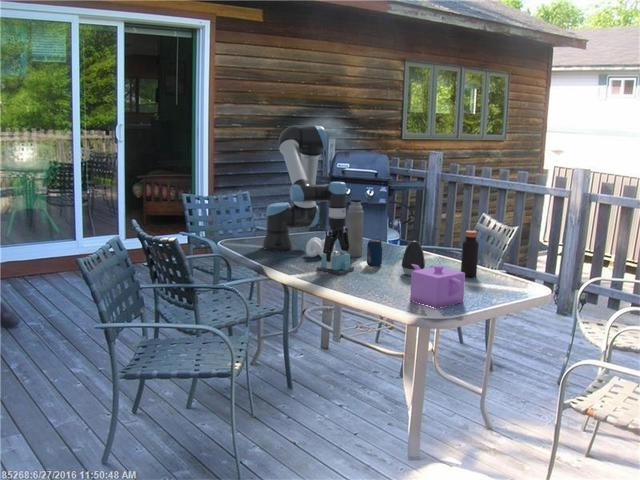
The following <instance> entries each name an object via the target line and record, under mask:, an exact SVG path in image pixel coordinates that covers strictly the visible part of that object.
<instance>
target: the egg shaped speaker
mask: <svg viewBox="0 0 640 480" xmlns="http://www.w3.org/2000/svg"><path fill="white" fill-rule="evenodd" d="M411 264H415V265H418V266H419V267H420V269H426V268H425V267H426V259H425V254H424V250H423V247H422V245H421V243H420V242H419V241H418V240H411V241H410V242H409V243H408V244H407V245H406V247H405V250H404V253H403V256H402V260H401V267H402V271H403V273H404V274H405V275H407V276H410V277H411V274H412V271H415V268H414V267H413V266H412V265H411Z"/></svg>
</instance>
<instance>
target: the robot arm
mask: <svg viewBox="0 0 640 480" xmlns="http://www.w3.org/2000/svg"><path fill="white" fill-rule="evenodd" d="M277 145H278V150H279V152H280V154H282V155H283V158H284V161H285V166H286V169H287V172H288V175H289V178H290V182H291V186H290V187H289V198H290V200H291V201H292V202H293V204H292V205H290V203H289V202H286V201H285V202H276V203H270V204H268V206H267V207H266V212H265V213H266V214H265V216H266V218H265V219H266V221H265V222H266V228H265V229H266V232H265V237H264V240H263V242H262V249H263V248H266V249H270V250H269V251H271V250H279V251H278V252H281V251H282V252H285V251H290V250H292V249H293V243H292V240H291V236H290V229H293V228H294V229H297V228H298V229H300V228H305V229H308V228H314V227H315V226H316V225H317V223H318V221H319V218H320V208H319V206H318V205H317V202H328V226H329V228H330V229H329V230H326V231H325V238H324V239H325V243H324V249H323V253H324V254H326V261H327V269H332V264H333V254H331V253H332V251H334V246H335V243H336V241H337V240H338V244H339V246H340V247H339V248H340V249H341V250H339V251H340V252H343V253H346V251H348V250H349V240H348V228H347V227H346V225H347V217H346V214H347V213H346V212H347V211H346V208H347V191H348V190H347V184H346V183H345V182H344V181H330V183H324V184H316V183H317V182H316V181H317V173H318V164H319V157H320V156H322V154H323V151H325V150H326V149H327V148H328V137H327V133H326V130H325V128H324V127H323V126H321V125H315V124H313V125H296V124H295V125H290V126H288V127H287V128H285V129H284V130H282V132H281V133H280V136H279V138H278V143H277ZM346 245H347V246H346ZM266 249H265V250H266ZM284 250H285V251H284Z"/></svg>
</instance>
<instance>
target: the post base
mask: <svg viewBox="0 0 640 480" xmlns="http://www.w3.org/2000/svg"><path fill="white" fill-rule="evenodd" d="M331 254H333V255H335V256H338V255H340V250H332V253H331ZM317 270H318V271H317ZM354 270H355V267H354V266H351V265H350V267H349V269H348V270H343V269H339V270H333V269H327V268H324V267H322V265H320V266H316V271H317V272H321V271H323V272H322V273H326V272H328V273H327V274H331V273H332V275H336V274H337V275H338V276H340V275H343V274H346V273H350V272H353V271H354ZM339 274H340V275H339Z"/></svg>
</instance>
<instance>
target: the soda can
mask: <svg viewBox="0 0 640 480" xmlns="http://www.w3.org/2000/svg"><path fill="white" fill-rule="evenodd" d="M366 246H367V252H366V264H367V266H368V267H370V268H380V267H381V266H382V263H383V242H382V240H381V239H373V238H372V239H369V240H368V242H367V245H366Z"/></svg>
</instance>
